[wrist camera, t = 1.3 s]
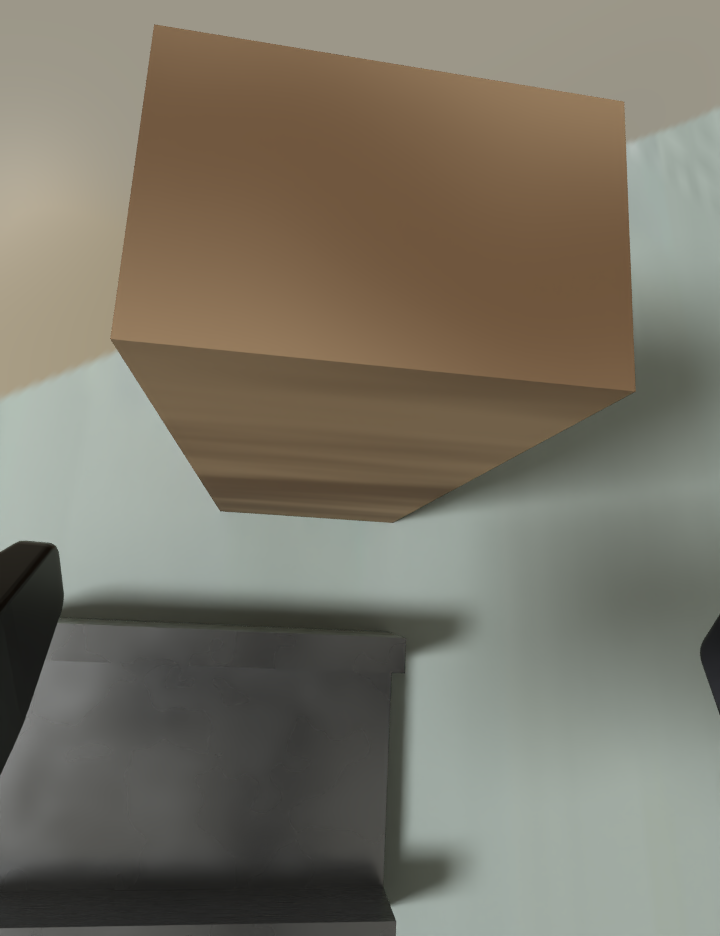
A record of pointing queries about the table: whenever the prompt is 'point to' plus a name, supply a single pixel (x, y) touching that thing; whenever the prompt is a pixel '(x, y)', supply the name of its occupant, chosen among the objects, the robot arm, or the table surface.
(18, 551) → the robot arm
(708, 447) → the table surface
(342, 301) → the wooden block
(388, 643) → the track
